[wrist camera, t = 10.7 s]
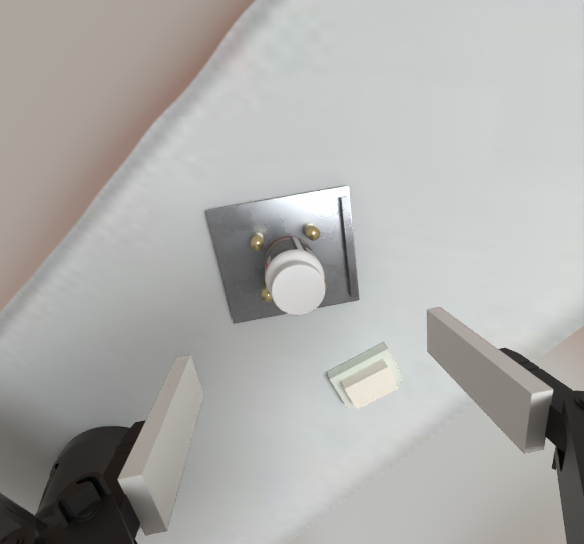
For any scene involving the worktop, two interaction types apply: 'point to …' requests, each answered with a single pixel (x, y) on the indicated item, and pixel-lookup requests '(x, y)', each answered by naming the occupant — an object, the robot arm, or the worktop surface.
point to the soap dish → (361, 364)
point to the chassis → (276, 224)
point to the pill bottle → (294, 276)
